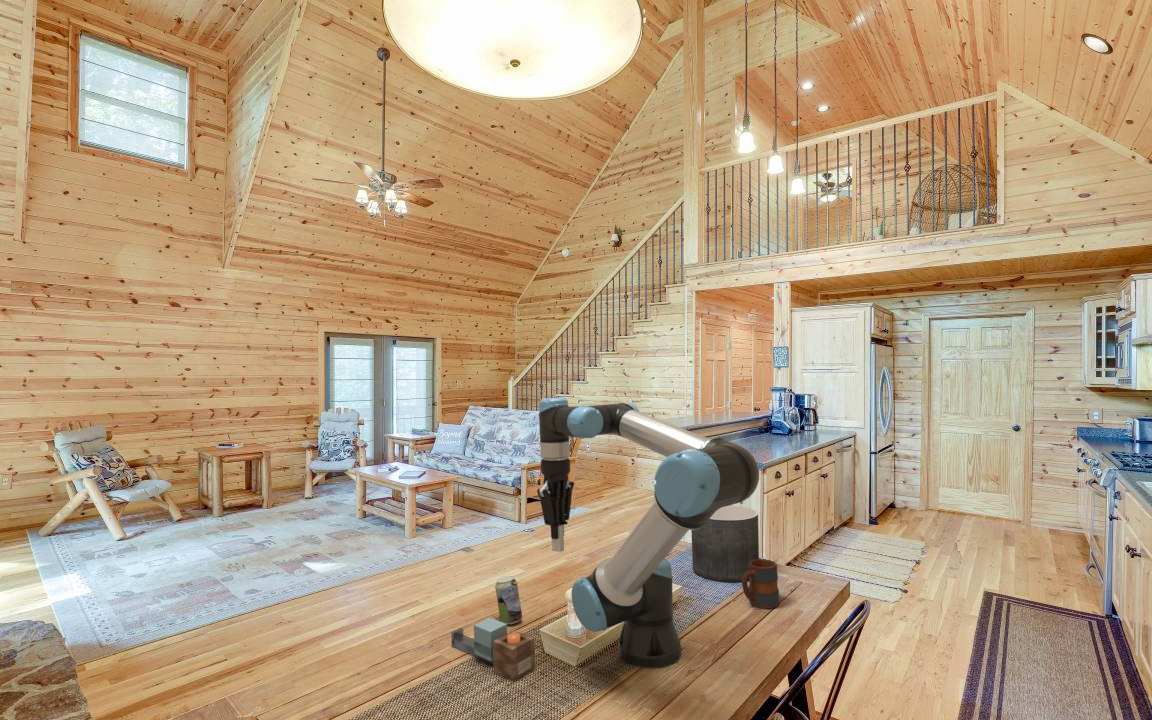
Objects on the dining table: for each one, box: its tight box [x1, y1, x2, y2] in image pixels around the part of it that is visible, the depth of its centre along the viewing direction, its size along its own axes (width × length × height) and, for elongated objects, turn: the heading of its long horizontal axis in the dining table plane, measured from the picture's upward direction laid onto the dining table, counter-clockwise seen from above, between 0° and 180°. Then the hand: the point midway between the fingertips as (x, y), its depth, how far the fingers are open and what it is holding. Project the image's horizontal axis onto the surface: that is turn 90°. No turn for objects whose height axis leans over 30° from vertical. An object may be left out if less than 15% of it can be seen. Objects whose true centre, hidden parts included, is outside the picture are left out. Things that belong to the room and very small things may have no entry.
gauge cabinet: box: [492, 630, 536, 682], centre depth 133 cm, size 7×7×7 cm
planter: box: [690, 504, 760, 583], centre depth 195 cm, size 22×22×20 cm
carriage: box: [473, 617, 508, 661], centre depth 138 cm, size 6×5×7 cm
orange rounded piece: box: [507, 632, 520, 646], centre depth 133 cm, size 3×3×4 cm
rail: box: [450, 627, 493, 666], centre depth 141 cm, size 18×3×4 cm, turn 50°
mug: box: [741, 558, 780, 610], centre depth 166 cm, size 9×12×12 cm
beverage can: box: [494, 575, 523, 625], centre depth 159 cm, size 6×7×12 cm
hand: (558, 550), depth 147 cm, fingers closed
